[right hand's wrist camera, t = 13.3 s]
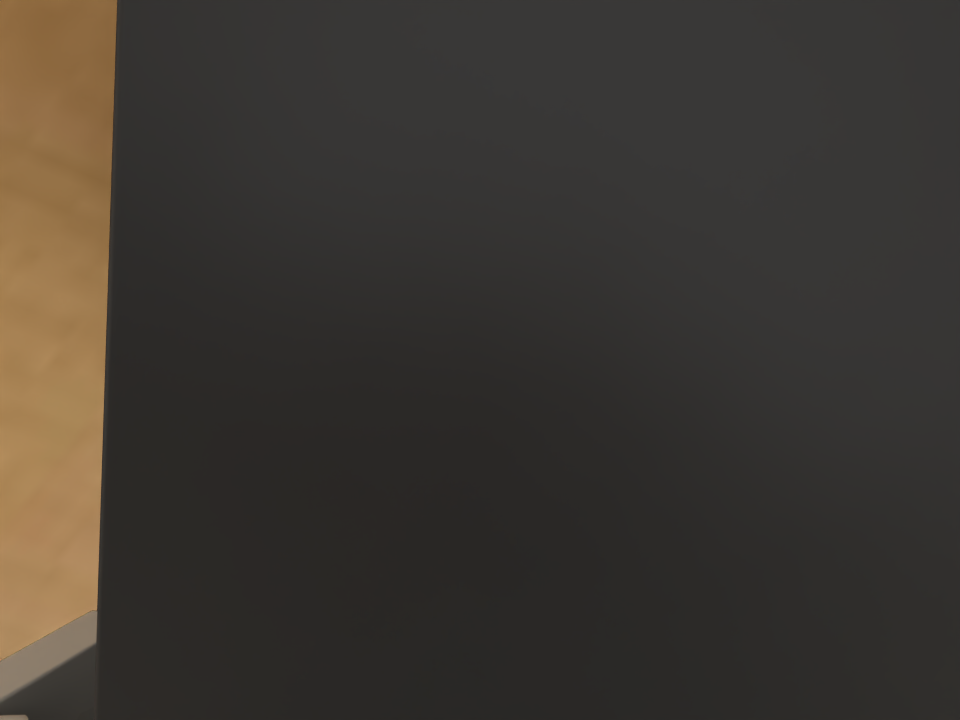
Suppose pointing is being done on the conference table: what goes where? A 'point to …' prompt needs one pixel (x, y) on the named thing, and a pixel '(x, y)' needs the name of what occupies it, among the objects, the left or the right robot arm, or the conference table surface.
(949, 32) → the box
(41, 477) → the conference table surface
